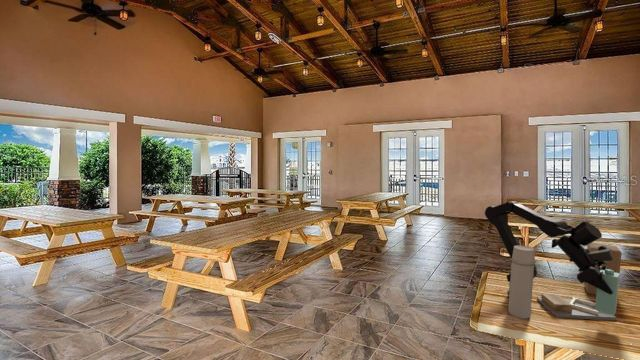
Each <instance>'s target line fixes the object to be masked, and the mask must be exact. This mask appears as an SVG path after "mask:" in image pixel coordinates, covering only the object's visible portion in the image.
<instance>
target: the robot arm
mask: <svg viewBox="0 0 640 360" xmlns="http://www.w3.org/2000/svg"><path fill="white" fill-rule="evenodd" d="M511 213H512V214H514V215H516V216H518V217H520V218H522V219H524V220H526V221H528V222H529V223H531V224H533V225H535V226H537V227H538V229H539V230H540V231H541V232H542V233H544V234H545V235H546V236H548V237H549V238H554V239H552V240H551V248H552V249H554V248H556V247H558V248H560V250H561V251H562V252H563V253H564V254H565V255H566V257H568V261H569V262H570V263H573V264H574V265H575V266H577V268H578V273H577V275H576V279H577V281H578V282H579V283H580V284H584V282H585V283H588V284H590V285H592V286H594V287H596V288H598V289H600V290H602V291H604V292H606V293H608V294H613V292H612V290H611V289H610V287H609V286H608V285H607V283H606V282H605V280H604V279H603V271H602V272H600V270H605V269H606V267H607V265H605V266H603V267H602V266H601V265H602V264H606V263H607V261H611V260H613V258H614V256H613V254H612V250H611V249H610V248H606V247H605V246H599V247H598V250H596V251H593V252H591V251H590V250H589V249H587V248H584V247H585V246H586V247H587V245H588V244H590V243H595V242H596V241H597V240H599V239H601V238H602V237H603V234H602V231H600V229H599V227H596V226H595V225H593V224H592V223H590V222H589V221H587V220H585V221H584V220H583V221H581V222H580V223H579V224H578V225H577V226H572V225H569V224H568V223H567V222H566V221H565V220H562V219H558V218H555V217H550V216H546V215H543V214H541V213H539V212H537V211H535V210H533V209H531V208H530V207H527V206H526V205H523V204H521V203H519V202H518V201H516V200H515V201H507V202H505V203H502V204H499V205H491V206H490V205H489V206H487V207H486V208H485V211H484V216H485V218H486V219H487V220H488V222H489V223H490V224H491V225H493V227H495V228H496V230H497V233H498V235H499V237H500V239H501V241H502V243H503V245H504V248H505V249H506V252H507V253H508V255H509V257H510V258H512V255H513V249H514V246H516V245H519V243H518V241H517V239H516V237H515V235H514V233H513V231H512V229H511V227H510V225H509V215H508V214H511ZM566 235H569V236H566ZM556 237H559V238H558V239H556ZM583 246H584V247H583ZM511 260H512V259H511ZM511 260H510V261H511ZM510 263H511V264H512V261H511V262H510ZM537 269H538V267H537V266H536V265H535V264H534V273H533V279H535V278H536V277H537V274H538V271H537ZM510 279H511V272H510V273H508V274H507V275H506V280H507V282H509V283H510ZM508 285H509V286H508V287H509V289H508V290H507V291H506V292H507V294H510V284H508Z"/></svg>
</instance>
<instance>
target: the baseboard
mask: <svg viewBox="0 0 640 360" xmlns="http://www.w3.org/2000/svg"><path fill="white" fill-rule="evenodd" d="M541 298H542V296H541V297H539V296H537V298H536V301H538V302H539V304H541V305H542V306H544V307H545V309H547V310H548V311H549V312H550V313H552V315H554V316H555V317H556V318H563V319H580V320H599V321H614V322H615V321H617V317H616V316H615V315H611V314H607V313H603V312H600V311H596V310H595V304H596V302H594V301H592V300H591V299H584V298H583V299H582V298H577V297H574V296H573V297H571V298H563V297H562V298H563V299H565V300H566V301H567V302H569V303H570V304H572V312H567V311H554V310H553V309H552V308H550V307H549V306H548V305H547V304H546V303H544V302H543V301H542V300H541Z"/></svg>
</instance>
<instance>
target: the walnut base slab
mask: <svg viewBox="0 0 640 360" xmlns="http://www.w3.org/2000/svg"><path fill="white" fill-rule="evenodd" d="M541 297H542V298H541V300H542V301H543V302H544V303H546V304H547V305H548V306H549V307H550V308H552V309H553V310H554V311H567V312H572V304H570V303H569V302H567V301H566V300H565V299H566V298H564V299H563V297H562V296H561V295H560V294H552V293H541Z"/></svg>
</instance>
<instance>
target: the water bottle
mask: <svg viewBox="0 0 640 360" xmlns="http://www.w3.org/2000/svg"><path fill="white" fill-rule="evenodd" d="M535 254H536V253H535V248H533V247H532V246H528V245H519V244H518V245H516V246H514V249H513V255H512V258H510V259H509V260H510V261H512V264H511V265H510V273H511V279H510V282H509V285H510V294H509V293H508V294H509V297H508V309H507V310H508V313H509V314H510V315H511V316H512V317H515V318H518V319H521V320H522V319H525V320H526V319H529V318H531V312H532V301H533V287H534V278H533V273H534V265H535V264H536V262H537V261H536V255H535ZM511 259H512V260H511Z"/></svg>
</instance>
